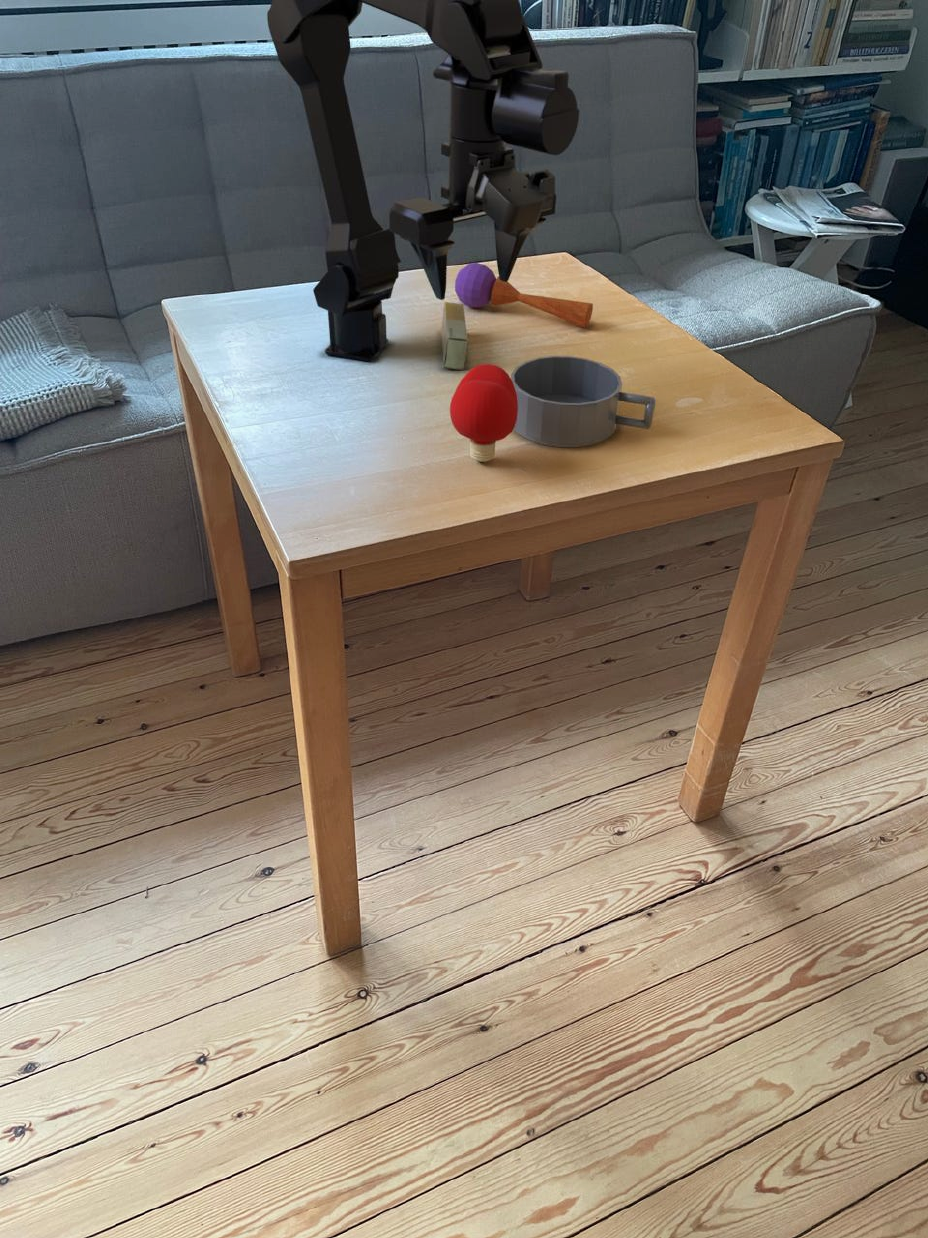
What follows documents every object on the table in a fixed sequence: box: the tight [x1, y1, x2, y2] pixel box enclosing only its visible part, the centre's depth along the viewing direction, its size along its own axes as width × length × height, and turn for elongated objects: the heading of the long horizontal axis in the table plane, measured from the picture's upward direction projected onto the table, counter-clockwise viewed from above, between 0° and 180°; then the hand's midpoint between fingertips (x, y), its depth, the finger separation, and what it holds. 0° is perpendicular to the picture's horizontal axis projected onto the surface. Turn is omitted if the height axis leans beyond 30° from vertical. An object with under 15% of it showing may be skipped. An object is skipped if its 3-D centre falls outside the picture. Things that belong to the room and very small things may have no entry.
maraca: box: [454, 262, 594, 329], centre depth 130 cm, size 6×6×20 cm
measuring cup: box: [510, 355, 657, 448], centre depth 105 cm, size 16×12×5 cm
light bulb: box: [449, 363, 518, 464], centre depth 97 cm, size 9×7×10 cm
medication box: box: [440, 301, 469, 371], centre depth 120 cm, size 12×3×4 cm, turn 3°
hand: (472, 289), depth 103 cm, fingers open, 9 cm apart
